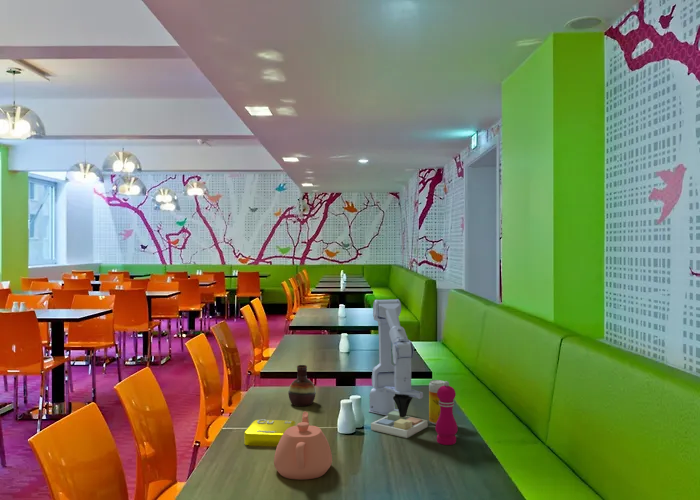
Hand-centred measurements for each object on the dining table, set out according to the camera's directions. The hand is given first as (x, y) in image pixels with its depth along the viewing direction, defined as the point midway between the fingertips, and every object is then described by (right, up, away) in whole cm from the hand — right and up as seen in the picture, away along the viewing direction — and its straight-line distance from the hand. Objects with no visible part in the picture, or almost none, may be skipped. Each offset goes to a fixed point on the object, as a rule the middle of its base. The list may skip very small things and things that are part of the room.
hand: (403, 416), depth 195 cm
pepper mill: (+13, -6, -9) cm, 17 cm away
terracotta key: (+4, -5, +6) cm, 9 cm away
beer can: (+14, -6, +11) cm, 19 cm away
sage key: (-2, -4, +10) cm, 11 cm away
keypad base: (-1, -6, +5) cm, 8 cm away
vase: (-38, -6, +36) cm, 53 cm away
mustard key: (0, -4, 0) cm, 4 cm away
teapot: (-32, -7, -30) cm, 44 cm away
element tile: (-45, -7, -5) cm, 46 cm away
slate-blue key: (-6, -5, +4) cm, 9 cm away
